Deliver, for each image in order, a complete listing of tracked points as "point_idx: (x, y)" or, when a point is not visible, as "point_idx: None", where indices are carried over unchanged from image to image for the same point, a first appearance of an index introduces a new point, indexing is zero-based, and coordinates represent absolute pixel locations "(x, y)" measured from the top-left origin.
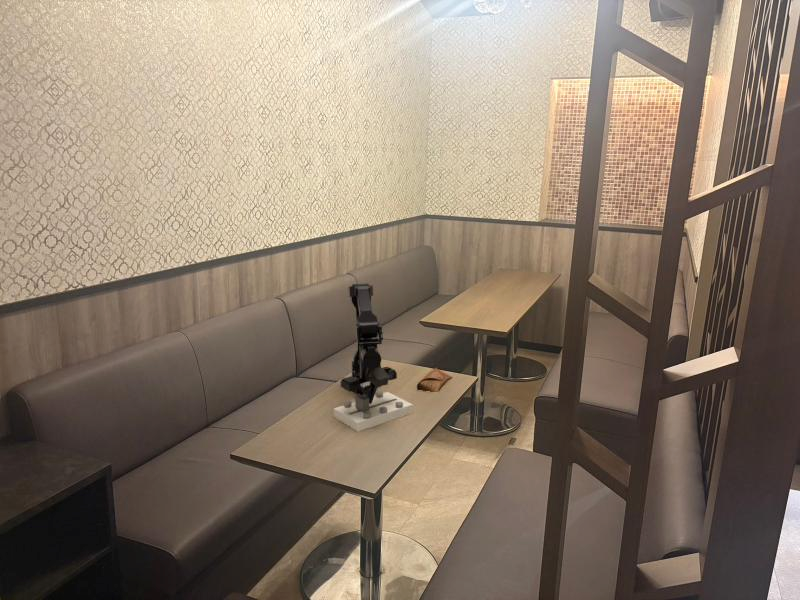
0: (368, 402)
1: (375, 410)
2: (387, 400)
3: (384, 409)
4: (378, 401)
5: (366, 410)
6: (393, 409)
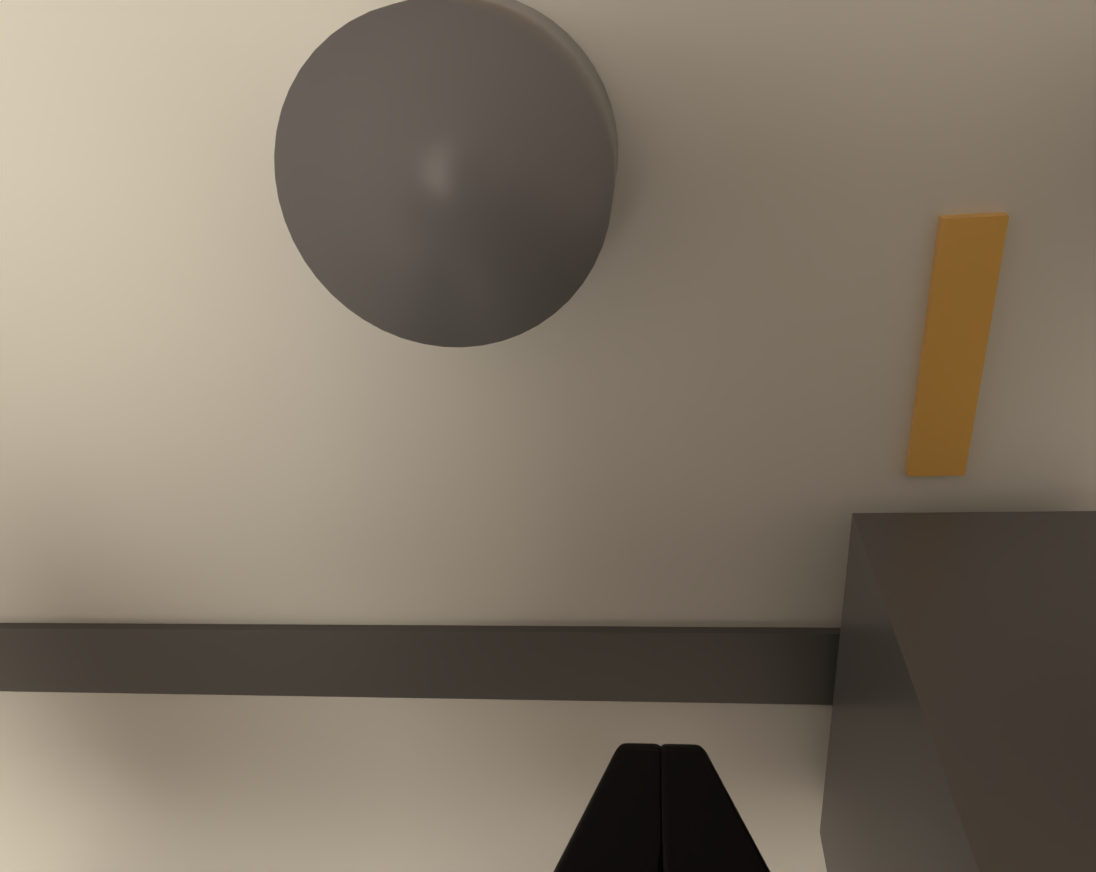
0: (973, 746)
1: (647, 416)
2: (26, 715)
3: (455, 43)
4: (264, 790)
5: (983, 523)
6: (36, 113)
